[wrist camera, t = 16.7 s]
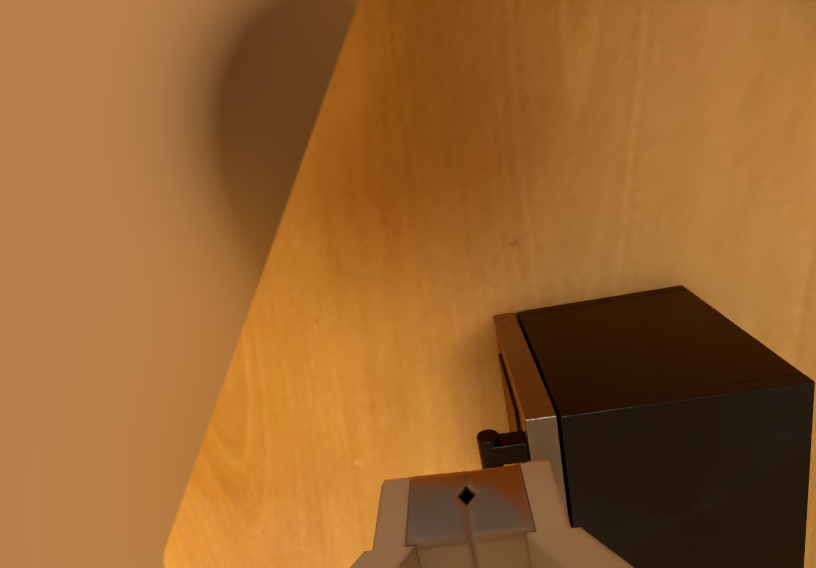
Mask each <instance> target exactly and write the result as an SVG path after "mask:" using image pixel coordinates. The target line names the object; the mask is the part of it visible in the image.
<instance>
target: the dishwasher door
mask: <svg viewBox="0 0 816 568" xmlns="http://www.w3.org/2000/svg"><path fill="white" fill-rule="evenodd" d="M494 322H495V329H496V335H497V342H498V348H499V354H498V355H499V361H500V368H501V374H502V381H503V387H504V394H505V400H506V407H507V413H508V420H509V426H510V432H509V433H502V434H498V433H497V432H496V431H494V430H491V429H487V430H483V431H481V432H479V433H478V435H477V442H478V448H479V453H480V459H481V465H482V469H488V468H496V467H503V466H504V465H505V464H512V463H515V465H520V463H526V462H533V461H539V460H546V459H547V460H548V461H549V462H550V464H551V467H552V470H553V473H554V476H555V479H556V482H557V485H558V488H559V491H560V494H561V497H562V500H563V503H564V506H565V510H566V513H567V516H568V519H569V513H568V505H567V497H566V488H565V480H564V472H563V463H562V455H561V447H560V438H559V430H558V422H557V415H556V413H555V410H554V408H553V405H552V403H551V400H550V398H549V396H548V393H547V391H546V388H545V386H544V383H543V381H542V379H541V376H540V374H539V371H538V369H537V366H536V364H535V362H534V359H533V357H532V354H531V352H530V349H529V347H528V344H527V342H526V340H525V337H524V335H523V332H522V330H521V327H520V325H519V323H518V320H517V318H516V315H515V314H514V313H513V314H507V315H501V316H495V317H494Z"/></svg>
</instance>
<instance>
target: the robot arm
mask: <svg viewBox="0 0 816 568" xmlns="http://www.w3.org/2000/svg"><path fill="white" fill-rule="evenodd" d="M350 568H634V567H633V566H631V565H630V564H629V563H627V562H626V561H625V560H623V559H622V558H621V557H619V556H618V555H617V554H615V553H614V552H613V551H611V550H610V549H609V548H607V547H606V546H605V545H603V544H602V543H601V542H599V541H598V540H597V539H595V538H594V537H593V536H591V535H590V534H589V533H588V532H586V531H585V530H584V529H582V528H581V527H578V528H571V525H570V522H569V519H568V516H567V513H566V510H565V506H564V503H563V500H562V497H561V494H560V491H559V488H558V485H557V482H556V479H555V476H554V473H553V470H552V467H551V464H550V462H549V461H548V460H547V459H546V460H539V461H533V462H526V463H520V465H511V466H503V467H496V468H488V469H481V470H473V471H466V472H465V471H463V472H453V473H444V474H434V475H425V476H415V477H412V478H409V477H408V478H399V479H391V480H385V481H384V482H383V484H382V486H381V493H380V500H379V508H378V515H377V522H376V529H375V536H374V543H373V550H372V551H366V552H364V553H363V554H362V555H361V556H360V557H359V558H358V559H357V561H356V562H355V563H354V564H353V565H352V566H351V567H350Z"/></svg>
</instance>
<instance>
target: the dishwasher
mask: <svg viewBox="0 0 816 568" xmlns="http://www.w3.org/2000/svg"><path fill="white" fill-rule="evenodd" d="M518 316H519V323H520V327H521V330H522V332H523V335H524V337H525V340H526V342H527V344H528V347H529V349H530V352H531V354H532V357H533V359H534V362H535V364H536V366H537V369H538V371H539V374H540V376H541V379H542V381H543V383H544V386H545V388H546V391H547V393H548V396H549V398H550V400H551V403H552V405H553V408H554V410H555V413H556V415H557V422H558V430H559V438H560V447H561V455H562V463H563V472H564V480H565V488H566V497H567V505H568V513H569V522H570V525H571V528H578V527H581V528H582V529H584V530H585V531H586V532H588V533H589V534H590V535H591V536H593V537H594V538H595V539H597V540H598V541H599V542H601V543H602V544H603V545H605V546H606V547H607V548H609V549H610V550H611V551H613V552H614V553H615V554H617V555H618V556H619V557H621V558H622V559H623V560H625V561H626V562H627V563H629V564H630V565H631V566H633V567H634V568H804V554H805V537H806V520H807V503H808V487H809V470H810V453H811V436H812V420H813V403H814V386H815V382H814V381H813V380H812V379H810V378H809V377H807V376H806V375H805V374H803V373H802V372H800V371H799V370H797V369H796V368H795V367H793V366H792V365H791V364H789V363H788V362H787V361H785V360H784V359H782V358H781V357H780V356H778V355H777V354H776V353H774V352H773V351H771V350H770V349H769V348H767V347H766V346H765V345H763V344H762V343H760V342H759V341H758V340H756V339H755V338H754V337H752V336H751V335H749V334H748V333H747V332H745V331H744V330H743V329H741V328H740V327H738V326H737V325H736V324H734V323H733V322H732V321H730V320H729V319H727V318H726V317H725V316H723V315H722V314H721V313H719V312H718V311H717V310H715V309H714V308H712V307H711V306H710V305H708V304H707V303H706V302H704V301H703V300H701V299H700V298H699V297H697V296H696V295H695V294H693V293H692V292H690V291H689V290H687V289H686V288H685V287H683V286H678V287H672V288H666V289H659V290H653V291H647V292H641V293H634V294H628V295H622V296H615V297H609V298H603V299H597V300H590V301H584V302H578V303H572V304H565V305H559V306H553V307H547V308H540V309H534V310H528V311H522V312H518Z"/></svg>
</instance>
